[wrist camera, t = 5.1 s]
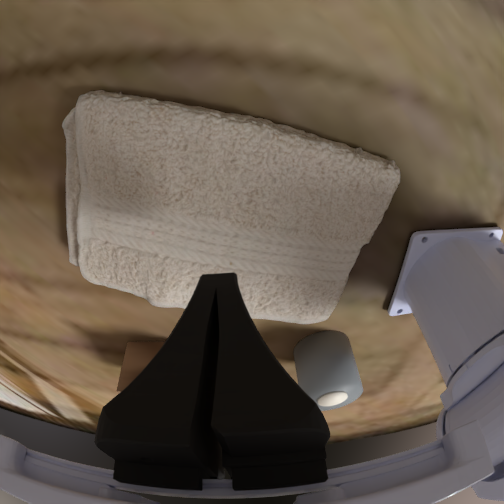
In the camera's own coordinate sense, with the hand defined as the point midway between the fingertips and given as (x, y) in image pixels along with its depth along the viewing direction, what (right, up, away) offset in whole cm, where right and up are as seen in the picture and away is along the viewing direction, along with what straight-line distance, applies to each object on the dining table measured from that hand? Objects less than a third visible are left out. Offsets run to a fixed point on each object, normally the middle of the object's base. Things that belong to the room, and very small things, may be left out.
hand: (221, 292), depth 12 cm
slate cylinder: (+7, -7, +14) cm, 17 cm away
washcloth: (-1, +4, +6) cm, 7 cm away
